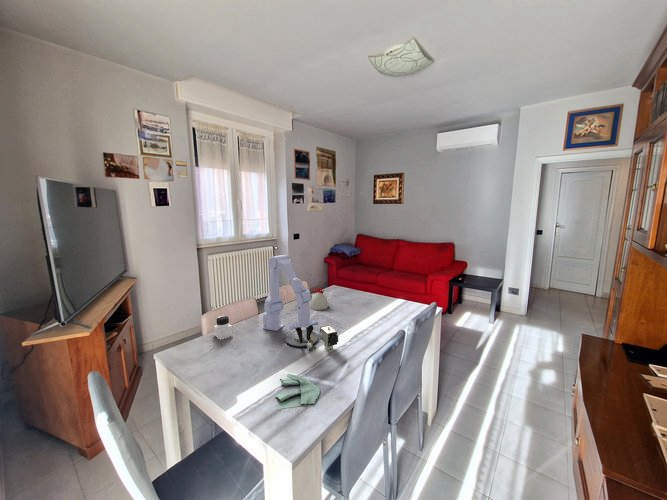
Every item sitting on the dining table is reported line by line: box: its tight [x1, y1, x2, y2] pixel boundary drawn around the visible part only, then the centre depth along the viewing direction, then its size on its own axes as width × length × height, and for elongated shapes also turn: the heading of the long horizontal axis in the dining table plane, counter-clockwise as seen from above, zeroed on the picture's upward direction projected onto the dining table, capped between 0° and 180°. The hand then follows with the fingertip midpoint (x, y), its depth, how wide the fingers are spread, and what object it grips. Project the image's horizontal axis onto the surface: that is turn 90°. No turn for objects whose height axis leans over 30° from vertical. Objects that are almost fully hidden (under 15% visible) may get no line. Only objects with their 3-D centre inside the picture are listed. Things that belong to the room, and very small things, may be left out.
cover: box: [294, 332, 304, 342], centre depth 143 cm, size 5×5×4 cm
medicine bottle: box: [213, 315, 234, 341], centre depth 148 cm, size 7×7×12 cm
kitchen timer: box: [309, 287, 329, 311], centre depth 194 cm, size 14×14×15 cm
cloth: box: [275, 373, 321, 410], centre depth 107 cm, size 20×22×2 cm
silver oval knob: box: [306, 342, 312, 352], centre depth 135 cm, size 3×2×4 cm, turn 70°
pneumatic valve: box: [319, 325, 339, 353], centre depth 135 cm, size 6×12×12 cm, turn 27°
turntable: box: [285, 329, 319, 347], centre depth 146 cm, size 17×17×4 cm
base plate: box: [280, 333, 322, 352], centre depth 146 cm, size 19×19×1 cm
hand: (304, 340), depth 139 cm, fingers open, 3 cm apart
